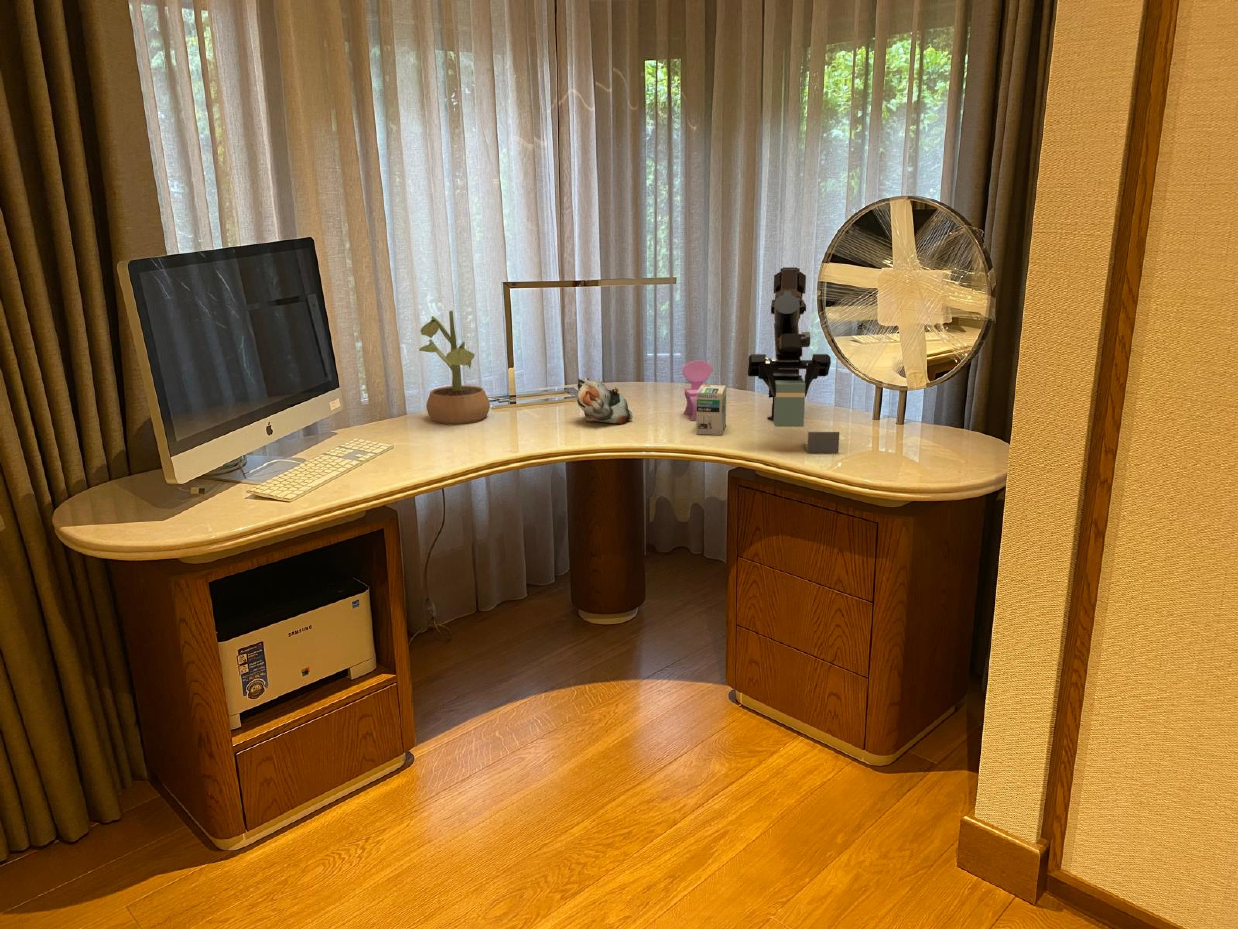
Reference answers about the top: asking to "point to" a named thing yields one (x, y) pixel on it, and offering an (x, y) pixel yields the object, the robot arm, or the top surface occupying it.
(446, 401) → the potted plant
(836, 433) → the bookend
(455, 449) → the top surface
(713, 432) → the light bulb box
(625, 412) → the lucky cat figurine
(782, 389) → the green striped box
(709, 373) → the toy chair
